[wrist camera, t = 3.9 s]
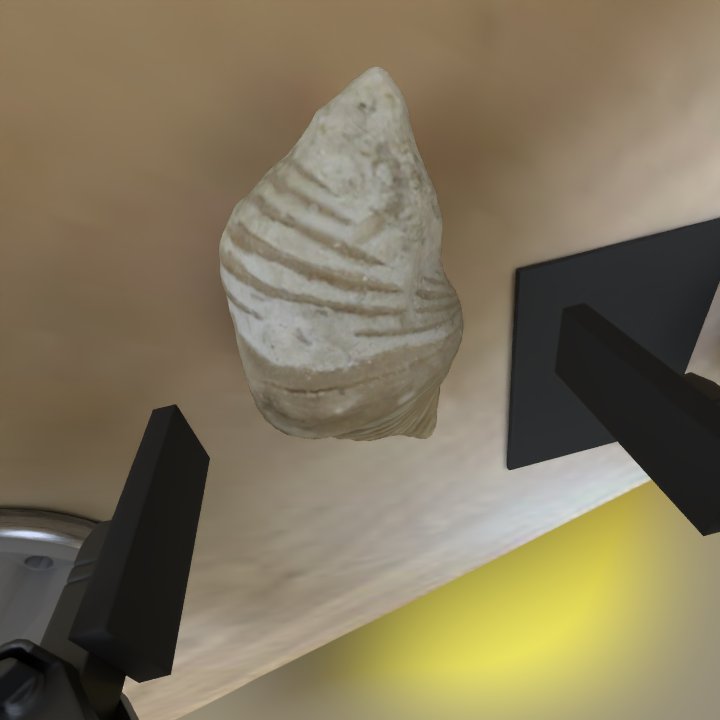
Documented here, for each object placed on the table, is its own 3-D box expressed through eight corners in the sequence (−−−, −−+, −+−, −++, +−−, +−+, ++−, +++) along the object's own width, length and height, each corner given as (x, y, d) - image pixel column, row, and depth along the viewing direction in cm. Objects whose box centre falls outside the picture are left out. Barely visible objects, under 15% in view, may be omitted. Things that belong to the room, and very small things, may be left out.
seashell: (503, 443, 20) (424, 576, 12) (345, 427, 25) (211, 513, 16) (485, 129, 17) (368, 12, 9) (314, 181, 22) (136, 136, 14)
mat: (506, 466, 30) (508, 470, 30) (515, 269, 21) (520, 272, 20) (659, 425, 31) (663, 429, 30) (738, 212, 21) (745, 215, 21)
